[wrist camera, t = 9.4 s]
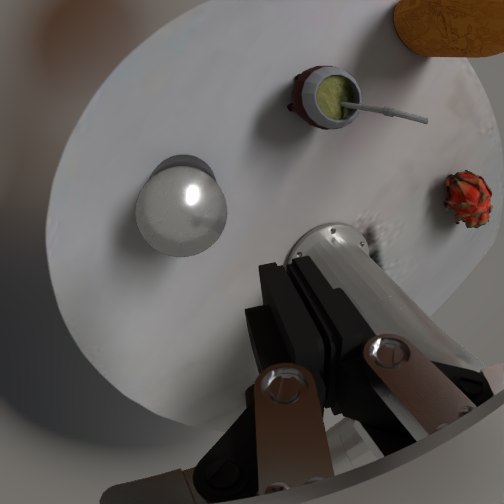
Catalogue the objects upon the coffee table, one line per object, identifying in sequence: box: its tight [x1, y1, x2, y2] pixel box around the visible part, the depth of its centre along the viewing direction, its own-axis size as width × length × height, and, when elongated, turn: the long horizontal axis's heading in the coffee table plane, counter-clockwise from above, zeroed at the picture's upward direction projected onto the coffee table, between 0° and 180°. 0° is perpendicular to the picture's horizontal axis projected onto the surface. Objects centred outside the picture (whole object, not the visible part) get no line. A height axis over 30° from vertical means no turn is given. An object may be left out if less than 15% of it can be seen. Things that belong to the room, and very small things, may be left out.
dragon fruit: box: [444, 170, 493, 228], centre depth 41 cm, size 8×8×12 cm
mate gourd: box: [287, 66, 428, 130], centre depth 27 cm, size 8×8×15 cm
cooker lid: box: [135, 166, 227, 257], centre depth 28 cm, size 8×8×1 cm
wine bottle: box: [394, 0, 504, 57], centre depth 17 cm, size 10×10×30 cm
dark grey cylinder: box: [150, 155, 217, 183], centre depth 32 cm, size 8×8×8 cm
